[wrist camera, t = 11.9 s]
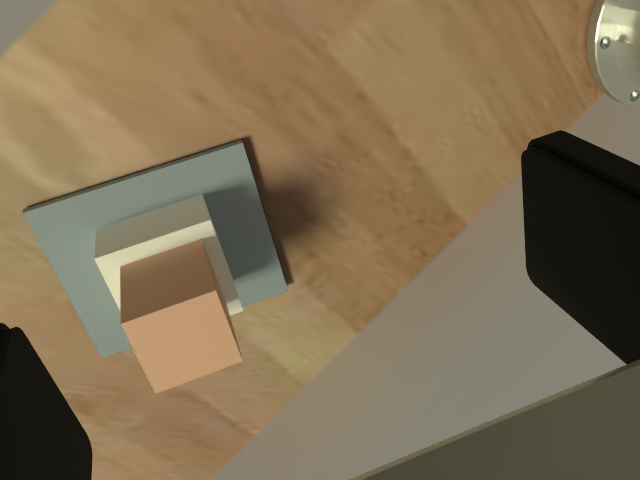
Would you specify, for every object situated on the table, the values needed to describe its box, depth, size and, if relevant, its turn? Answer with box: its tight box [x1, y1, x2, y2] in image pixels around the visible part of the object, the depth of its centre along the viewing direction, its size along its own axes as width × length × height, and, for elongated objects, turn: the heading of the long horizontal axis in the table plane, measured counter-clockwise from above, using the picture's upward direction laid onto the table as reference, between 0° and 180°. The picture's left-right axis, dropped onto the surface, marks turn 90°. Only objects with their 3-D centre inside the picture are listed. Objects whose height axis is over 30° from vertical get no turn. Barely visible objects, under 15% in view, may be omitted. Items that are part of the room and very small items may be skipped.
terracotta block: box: [120, 239, 243, 393], centre depth 34 cm, size 5×5×6 cm
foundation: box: [22, 140, 288, 358], centre depth 39 cm, size 14×12×5 cm
